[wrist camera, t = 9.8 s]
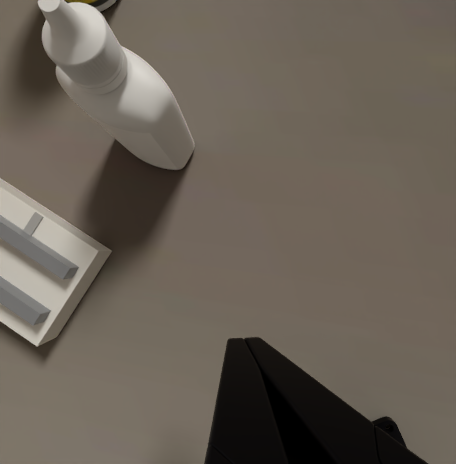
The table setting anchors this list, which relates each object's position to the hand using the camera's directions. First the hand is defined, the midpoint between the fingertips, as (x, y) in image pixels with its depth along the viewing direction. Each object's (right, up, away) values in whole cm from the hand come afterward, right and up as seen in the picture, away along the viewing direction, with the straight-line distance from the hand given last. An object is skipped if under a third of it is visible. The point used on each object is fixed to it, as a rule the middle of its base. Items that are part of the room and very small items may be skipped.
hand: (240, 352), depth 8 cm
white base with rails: (-17, +3, +13) cm, 22 cm away
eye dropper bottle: (-5, +10, +14) cm, 17 cm away
